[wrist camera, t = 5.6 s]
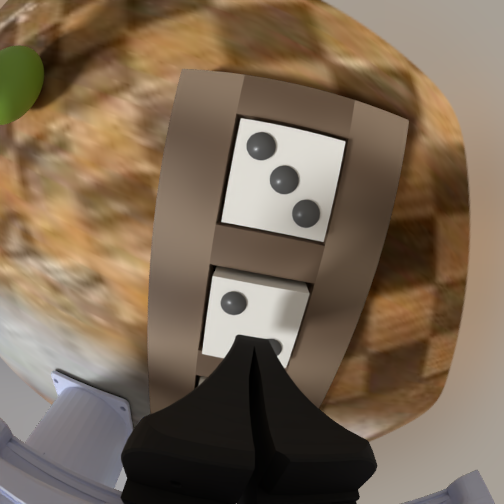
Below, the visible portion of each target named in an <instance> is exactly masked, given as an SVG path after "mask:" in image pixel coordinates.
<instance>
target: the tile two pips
mask: <svg viewBox="0 0 504 504" xmlns="http://www.w3.org/2000/svg"><path fill="white" fill-rule="evenodd" d="M308 297H309V291H308V288H307V286H306V283H305V282H303V281H298V280H292V279H286V278H281V277H275V276H270V275H265V274H259V273H254V272H249V271H243V270H238V269H233V268H228V267H222V266H217V267H216V269H215V272H214V274H213V277H212V284H211V291H210V297H209V304H208V312H207V319H206V326H205V334H204V341H203V349H202V354H205V355H210V356H214V357H220V358H225V356H226V355H227V353H228V352H229V350H230V348H231V347H232V345H233V343H234V340H235V336H237V335H238V334H240V335H245V336H251V337H257V338H263V339H268V340H269V341H270V343H271V345H272V347H273V349H274V351H275V353H276V355H277V357H278V359H279V360H280V362H281V364H282V365H283V367H284V368H286V367H287V364H288V361H289V358H290V355H291V352H292V349H293V346H294V343H295V340H296V337H297V333H298V330H299V327H300V324H301V321H302V317H303V314H304V311H305V307H306V304H307V301H308Z"/></svg>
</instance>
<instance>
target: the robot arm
mask: <svg viewBox="0 0 504 504" xmlns="http://www.w3.org/2000/svg"><path fill="white" fill-rule="evenodd" d="M51 376H52V379H53V382H54V385H55V388H56V391H57V394H58V397H57V399H56V400H55V401H54V403H53V404H52V405H51V407H50V408H49V409H48V411H47V412H46V414H45V415H44V417H43V418H42V419H41V420H40V422H39V423H38V425H37V426H36V427H35V429H34V430H33V432H32V433H31V435H30V436H29V438H28V439H27V441H26V442H25V443H24V442H22V441H21V440H19V439H18V438H16V437H15V436H13V435H12V432H11V430H10V429H9V427H8V425H7V424H6V423H5V422H4V421H3V420H2V419H1V418H0V504H236V503H237V504H356V501H357V500H358V499H359V497H360V496H359V492H358V489H359V488H360V487H361V486H362V485H363V484H364V483H365V482H366V481H367V480H368V479H369V478H370V477H371V476H372V475H373V474H374V472H375V471H376V468H377V463H376V460H375V457H374V453H373V450H372V449H371V446H370V444H369V442H368V441H367V440H366V439H364V438H362V437H360V436H358V435H356V434H354V433H352V432H351V431H349V430H347V429H345V428H344V427H342V426H341V425H339V424H338V423H336V422H335V421H333V420H332V419H331V418H329V417H328V416H327V415H326V414H324V413H323V412H322V411H321V410H320V409H319V408H317V407H316V406H315V405H314V404H313V403H312V402H311V401H310V400H309V399H308V398H307V397H306V396H305V395H304V394H303V393H302V392H301V391H300V389H299V388H298V387H297V386H296V384H295V383H294V382H293V380H292V379H291V378H290V376H289V375H288V373H287V372H286V370H285V369H284V367H283V365H282V364H281V362H280V360H279V359H278V357H277V355H276V353H275V351H274V349H273V347H272V345H271V343H270V341H269V340H268V339H263V338H257V337H251V336H245V335H240V334H238V335H237V336H235V340H234V343H233V345H232V347H231V348H230V350H229V352H228V353H227V355H226V356H225V358H224V359H223V360H222V362H221V363H220V364H219V365H218V366H217V368H216V369H215V370H214V371H213V372H212V373H211V374H210V375H209V376H208V377H207V378H206V379H205V380H204V381H203V382H202V383H201V384H200V385H199V386H197V387H196V388H195V389H194V390H192V391H191V392H190V393H188V394H187V395H186V396H184V397H183V398H181V399H179V400H178V401H176V402H174V403H173V404H171V405H169V406H168V407H166V408H164V409H161V410H159V411H157V412H155V413H152V414H150V415H148V416H145V417H143V418H142V420H141V421H140V422H139V423H138V424H137V426H136V427H135V428H134V430H133V425H132V419H131V413H130V407H129V403H128V401H127V400H125V399H123V398H120V397H117V396H115V395H112V394H109V393H106V392H104V391H101V390H98V389H96V388H93V387H91V386H88V385H86V384H84V383H81V382H79V381H77V380H74V379H72V378H70V377H68V376H65V375H63V374H61V373H59V372H57V371H52V373H51ZM122 467H124V470H125V473H126V476H127V481H126V483H125V486H124V489H123V492H121V491H119V490H116V489H114V487H115V484H116V482H117V480H118V477H119V475H120V472H121V470H122ZM401 504H495V503H494V501H493V499H492V497H491V495H490V493H489V491H488V489H487V487H486V485H485V483H484V481H483V479H482V477H481V475H480V473H479V471H478V470H475V471H472V472H470V473H468V474H466V475H463V476H461V477H460V478H458V479H457V480H455V481H454V482H453V483H451V484H450V485H449V486H448V487H447V488H446V489H444V490H441V491H439V492H436V493H433V494H430V495H427V496H424V497H421V498H418V499H415V500H412V501H408V502H405V503H401Z"/></svg>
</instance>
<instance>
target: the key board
mask: <svg viewBox="0 0 504 504" xmlns="http://www.w3.org/2000/svg"><path fill="white" fill-rule="evenodd" d="M241 118H243V119H249V120H255V121H260V122H266V123H271V124H276V125H281V126H286V127H290V128H295V129H299V130H303V131H308V132H312V133H316V134H320V135H324V136H327V137H331V138H335V139H338V140H342V141H345V147H344V152H343V157H342V162H341V167H340V172H339V177H338V182H337V187H336V191H335V196H334V200H333V205H332V209H331V213H330V218H329V222H328V226H327V230H326V234H325V238H324V242H321V241H317V240H312V239H307V238H302V237H297V236H292V235H287V234H282V233H277V232H272V231H267V230H262V229H257V228H251V227H246V226H241V225H236V224H230V223H225V222H221V221H222V218H221V217H222V212H223V206H224V200H225V195H226V189H227V184H228V178H229V173H230V167H231V162H232V157H233V152H234V147H235V142H236V136H237V132H238V127H239V122H240V120H241ZM408 124H409V120H407V119H404V118H402V117H400V116H397V115H395V114H392V113H390V112H387V111H384V110H382V109H379V108H376V107H374V106H371V105H368V104H365V103H362V102H359V101H356V100H353V99H350V98H347V97H343V96H340V95H337V94H333V93H330V92H326V91H322V90H319V89H315V88H311V87H307V86H302V85H298V84H294V83H289V82H284V81H279V80H274V79H269V78H263V77H257V76H250V75H243V74H236V73H228V72H219V71H208V70H194V69H182V71H181V75H180V79H179V83H178V87H177V91H176V95H175V100H174V104H173V108H172V113H171V118H170V122H169V127H168V132H167V137H166V143H165V148H164V154H163V160H162V166H161V172H160V179H159V186H158V193H157V200H156V208H155V217H154V226H153V236H152V247H151V260H150V275H149V296H148V378H149V398H150V412H151V414H152V413H155V412H157V411H159V410H161V409H164V408H166V407H168V406H169V405H171V404H173V403H174V402H176V401H178V400H179V399H181V398H183V397H184V396H186V395H187V394H188V393H190V392H191V391H192V390H194V389H195V388H196V387H197V386H198V379H199V376H204V377H208V376H209V375H210V374H211V373H212V372H213V371H214V370H215V369H216V368H217V366H218V365H219V364H220V363H221V362H222V360H223V359H224V358H220V357H214V356H210V355H205V354H202V349H203V341H204V334H205V331H204V330H205V322H206V315H207V308H208V301H209V294H210V287H211V280H212V273H213V267H214V265H217V266H222V267H228V268H233V269H238V270H243V271H249V272H254V273H259V274H265V275H270V276H275V277H281V278H286V279H292V280H298V281H303V282H305V283H306V286H307V288H308V291H309V297H308V301H307V304H306V307H305V311H304V314H303V317H302V321H301V324H300V327H299V330H298V333H297V337H296V340H295V343H294V346H293V349H292V352H291V355H290V358H289V361H288V364H287V367H286V368H284V369H285V370H286V372H287V373H288V375H289V376H290V378H291V379H292V380H293V382H294V383H295V384H296V386H297V387H298V388H299V389H300V391H301V392H302V393H303V394H304V395H305V396H306V397H307V398H308V399H309V400H310V401H311V402H312V403H313V404H314V405H315V406H316V407H317V408H319V407H320V405H321V404H322V402H323V400H324V398H325V396H326V394H327V391H328V389H329V387H330V385H331V383H332V381H333V379H334V377H335V375H336V372H337V370H338V368H339V366H340V364H341V361H342V359H343V357H344V354H345V352H346V350H347V347H348V345H349V343H350V340H351V338H352V335H353V333H354V330H355V328H356V325H357V323H358V320H359V317H360V315H361V312H362V309H363V307H364V304H365V301H366V298H367V295H368V293H369V290H370V287H371V284H372V281H373V278H374V275H375V271H376V268H377V265H378V262H379V259H380V255H381V252H382V248H383V245H384V241H385V238H386V234H387V230H388V226H389V223H390V219H391V215H392V211H393V206H394V202H395V198H396V193H397V188H398V184H399V179H400V174H401V168H402V163H403V157H404V151H405V145H406V138H407V131H408Z"/></svg>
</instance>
